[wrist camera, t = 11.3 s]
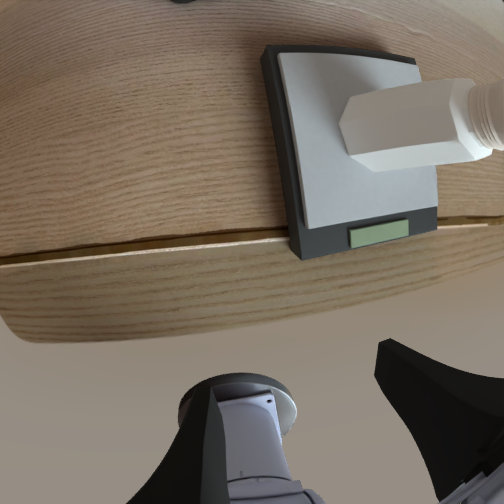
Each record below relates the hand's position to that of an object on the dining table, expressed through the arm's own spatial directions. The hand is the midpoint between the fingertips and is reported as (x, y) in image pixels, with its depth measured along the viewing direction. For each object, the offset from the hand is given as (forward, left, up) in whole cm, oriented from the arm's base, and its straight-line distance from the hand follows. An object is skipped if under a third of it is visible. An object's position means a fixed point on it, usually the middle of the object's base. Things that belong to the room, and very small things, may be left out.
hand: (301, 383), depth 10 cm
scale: (+9, -9, -10) cm, 16 cm away
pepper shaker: (+10, -9, -8) cm, 15 cm away
